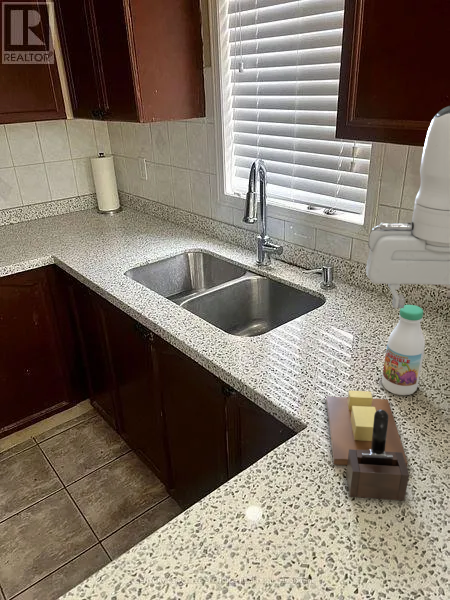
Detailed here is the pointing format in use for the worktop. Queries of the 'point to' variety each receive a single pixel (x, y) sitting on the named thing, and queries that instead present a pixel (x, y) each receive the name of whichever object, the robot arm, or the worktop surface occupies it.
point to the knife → (378, 442)
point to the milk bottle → (404, 353)
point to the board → (344, 434)
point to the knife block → (377, 477)
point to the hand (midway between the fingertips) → (428, 307)
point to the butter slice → (359, 399)
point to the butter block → (362, 422)
